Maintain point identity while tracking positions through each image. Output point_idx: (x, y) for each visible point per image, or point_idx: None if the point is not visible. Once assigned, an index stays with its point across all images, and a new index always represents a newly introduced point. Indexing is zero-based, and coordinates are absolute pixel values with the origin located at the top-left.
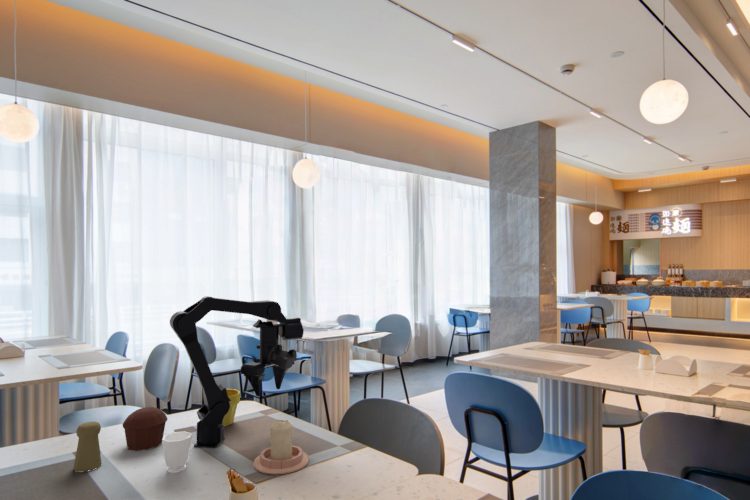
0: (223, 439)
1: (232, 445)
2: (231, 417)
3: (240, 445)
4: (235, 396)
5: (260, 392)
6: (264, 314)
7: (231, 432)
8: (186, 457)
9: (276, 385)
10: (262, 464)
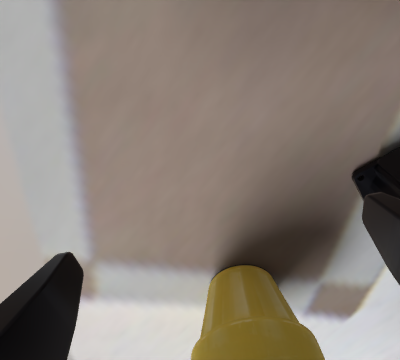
0: (383, 157)
1: (387, 101)
2: (238, 282)
3: (375, 74)
4: (252, 356)
5: (394, 212)
6: None
7: (284, 210)
8: None
9: (73, 302)
10: None
